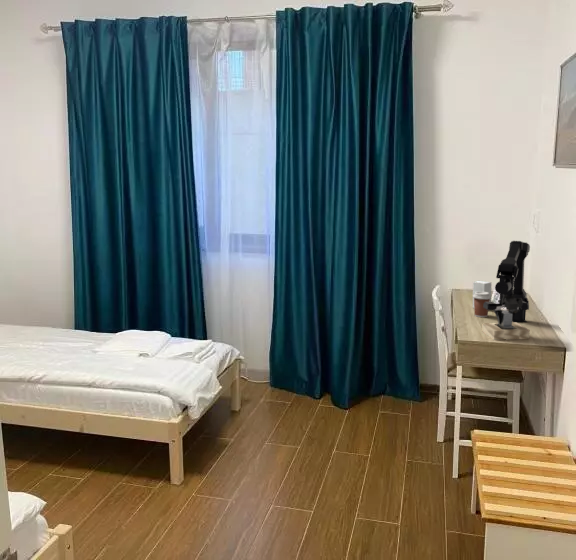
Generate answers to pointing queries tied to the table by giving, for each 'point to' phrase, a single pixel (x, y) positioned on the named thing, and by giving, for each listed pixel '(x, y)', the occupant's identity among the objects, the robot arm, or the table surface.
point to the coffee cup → (481, 303)
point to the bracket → (506, 320)
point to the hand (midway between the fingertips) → (504, 323)
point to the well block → (505, 331)
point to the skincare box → (481, 288)
